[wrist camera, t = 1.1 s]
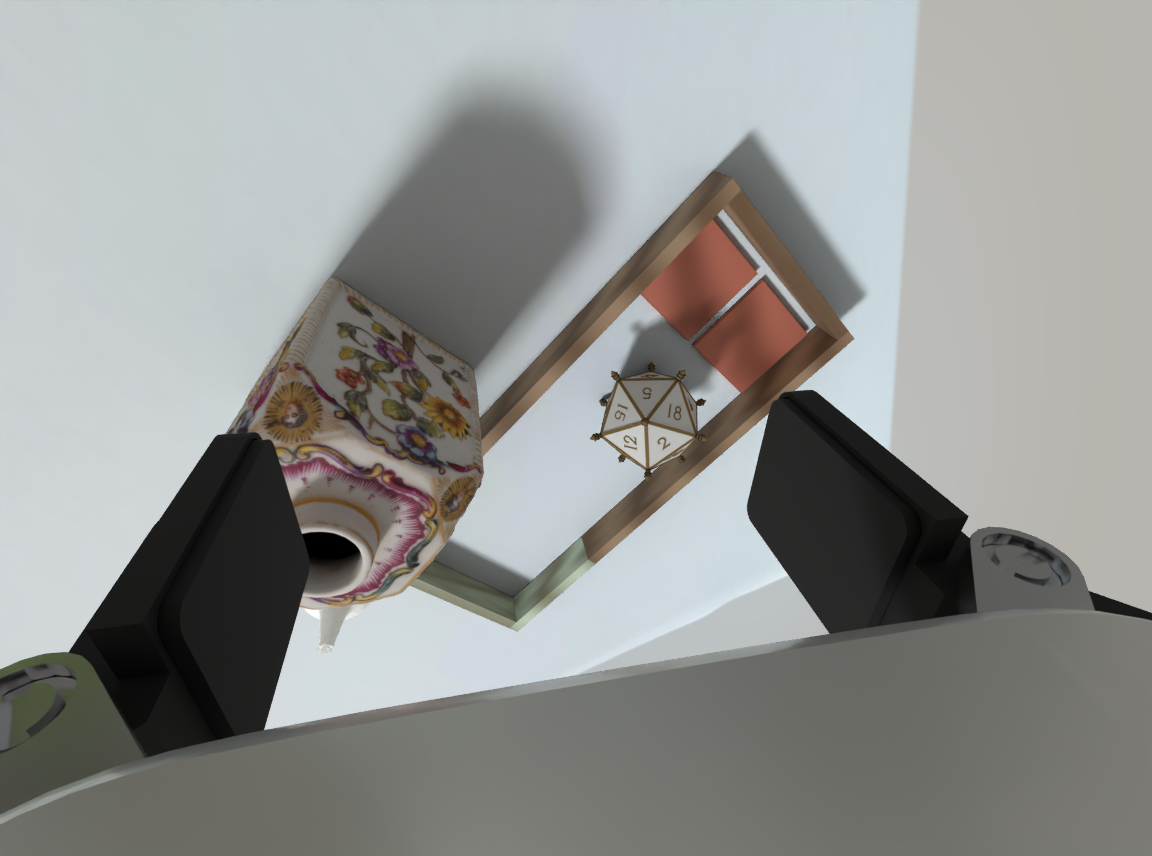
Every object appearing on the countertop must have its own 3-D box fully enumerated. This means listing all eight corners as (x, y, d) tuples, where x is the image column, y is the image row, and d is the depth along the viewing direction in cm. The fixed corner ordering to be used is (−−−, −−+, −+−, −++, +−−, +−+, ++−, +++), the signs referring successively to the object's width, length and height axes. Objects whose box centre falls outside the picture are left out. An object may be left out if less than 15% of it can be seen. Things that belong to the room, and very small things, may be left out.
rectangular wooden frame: (713, 170, 37) (732, 178, 34) (832, 324, 45) (854, 338, 43) (366, 539, 48) (362, 565, 45) (514, 606, 56) (517, 631, 54)
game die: (642, 361, 48) (749, 391, 42) (613, 453, 49) (713, 495, 43) (582, 338, 41) (701, 371, 35) (549, 446, 42) (659, 496, 36)
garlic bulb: (350, 602, 52) (345, 681, 46) (285, 583, 49) (270, 666, 43) (389, 562, 50) (389, 638, 44) (325, 539, 47) (315, 618, 41)
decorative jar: (390, 471, 45) (363, 670, 30) (244, 398, 39) (122, 599, 24) (480, 365, 41) (500, 531, 26) (334, 267, 35) (255, 409, 21)
